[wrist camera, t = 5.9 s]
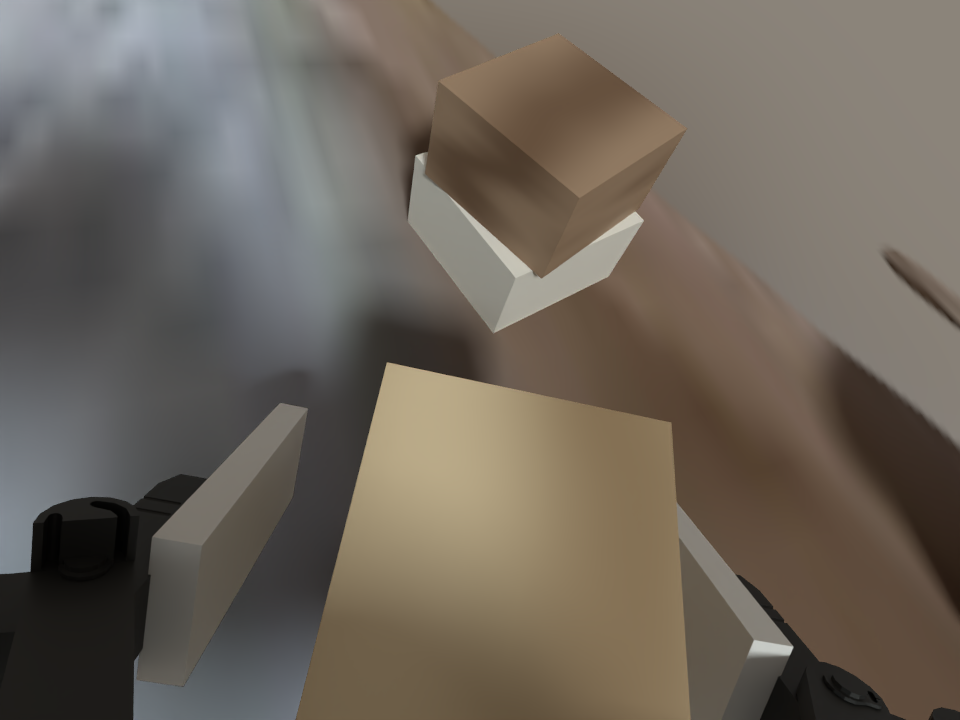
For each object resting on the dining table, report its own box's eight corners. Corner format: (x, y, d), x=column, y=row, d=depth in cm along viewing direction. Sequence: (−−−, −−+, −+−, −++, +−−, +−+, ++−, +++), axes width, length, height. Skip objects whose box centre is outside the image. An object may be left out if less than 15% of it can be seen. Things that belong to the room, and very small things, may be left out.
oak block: (328, 699, 16) (294, 724, 6) (368, 525, 18) (387, 362, 9) (497, 724, 16) (695, 781, 7) (513, 551, 19) (671, 422, 10)
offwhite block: (407, 224, 26) (415, 155, 22) (521, 184, 29) (544, 117, 25) (491, 336, 23) (515, 278, 20) (606, 279, 26) (643, 220, 23)
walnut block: (424, 173, 22) (438, 80, 18) (530, 121, 25) (558, 33, 22) (541, 278, 20) (579, 198, 17) (638, 208, 23) (687, 128, 20)
